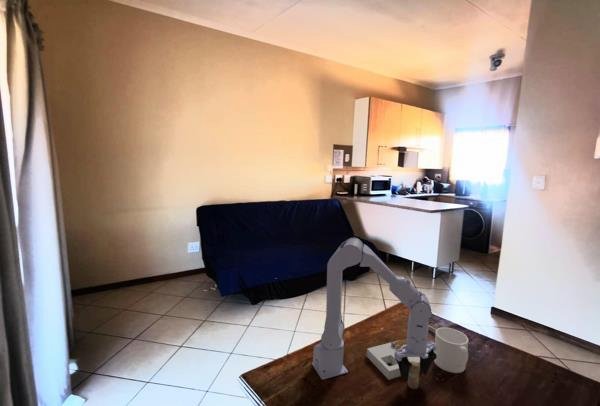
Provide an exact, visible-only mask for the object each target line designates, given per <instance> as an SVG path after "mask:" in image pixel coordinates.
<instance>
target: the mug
mask: <svg viewBox="0 0 600 406" xmlns="http://www.w3.org/2000/svg"><path fill="white" fill-rule="evenodd" d="M436 329H437V330H436V333H434V343H435V344H436V345H437V347H436V351H433V352H434V353H435V354H436V355H437V358H436V359H435V360H434V361H433V363H434V364H435V365H436V366H437V367H438V368H440V369H441V370H443V371H445V372H447V373H452V374H461V373H463V372H464V371H465V370H466V366H467V363H468V360H469V351H468V347H469V338H468V336H467V335H466V334H465V333H464V332H462V331H459V330H457V329H455V328H451V327H439V328H436Z"/></svg>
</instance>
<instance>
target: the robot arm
mask: <svg viewBox="0 0 600 406" xmlns="http://www.w3.org/2000/svg"><path fill="white" fill-rule="evenodd" d="M358 264H359V267H363V268H364V267H365V268H367V267H369V268H370V269H371V270H372V271H373V272H375V273H376V274H377V275H378V276H379V277H380V278H381V279H383V280H384V281H385V282H386V283H387V284H389V285H388V287H389V288H388V289H389V291H390V293H392V294H393V296H395V297H396V298H397V299H398V300H399V301H400V302H401V304H403V305H404V306H406V307H407V308H408V309H409V313H408V315H409V316H408V320H407V330H406V331H407V332H406V339H407V342H406V343H405V344H404V346H403V347H402V348H400V349H399V350H398V351H395V355H394V357H395V359H396V361H397V363H398V366H399V369H400V374H401V376H400V378H401V379H402V380H403V381H404V382H408V376H409V370H410V368H411V366H412V364H411V363H410V362H409V361H408V357H420V370H419V372H420V373H422V374H423V375H425V376H426V375H428V373H429V370H430V368H431V365H432V364H433V363H434V360H435V359H436V358H437V355H436V354H435V353H434V351H436V347H437V345H436V344H435V342H434V341H428V338H429V337H428V336H429V329H428V327H429V325H430V322H429V320H430V318H432V314H433V311H432V307H431V304H430V301H429V298H428V297H427V295H426V294H425V293H423V292H422V291H421V290H417V289H416V288H415V287H414V286H413V285H412V284H411V283H412V282H411V280H410V279H409V278H405V277H404V276H401V275H396V274H395V273H394V272H393V271H392V270H391V269H390V268H389V267H388V266H387V265H386V264H385V263H384V262H383V261H382V259H381V258H380V257H378V255H377V254H376V253H375V252H374V251H373V250H372V249H371V248H370V247H369V246H368V245H366V244H365V243H363V242H362V240H360V239H359V238H357V237H350V238H348V239H346V240H345V241H343V242H342V243H340V245H339V246H338V247H337V249H336V251H335V252H334V253H333V254H332V256H331V257H330V258H329V260H328V261H327V264H326V266H327V268H326V269H327V270H326V305H325V306H326V310H325V312H326V313H325V321H324V326H323V328H324V329H323V332H322V334H321V337H320V340H321V341H320V342H319V343H318V344H316V345H314V346H313V349H312V350H313V352H312V353H313V354H312V362H311V365H312V367H313V368H314V370H315V371H316V373H317V374H318V376H319V377H320V379H321V380H326V379H329V378H334V377H337V376H341V375H344V374H347V373H349V372H348V369H347V368H346V366H345V365H344V350H345V349H344V347H345V346H344V345H345V342H344V339H343V333H344V331H345V323H344V320H343V315H342V301H343V299H342V298H343V294H342V293H343V271H344V270H346V269H347V268H349V267H352V266H356V265H358Z"/></svg>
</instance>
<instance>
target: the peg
mask: <svg viewBox="0 0 600 406" xmlns="http://www.w3.org/2000/svg"><path fill="white" fill-rule="evenodd" d="M410 363H411V364H412V366H411V368H410V370H409V376H408V380H407V387H408V388H410V389H412V390H417V389H418V387H419V381H420V379H419V378H420V365H419V364H418V363H417V362H414V361H411V362H410Z"/></svg>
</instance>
